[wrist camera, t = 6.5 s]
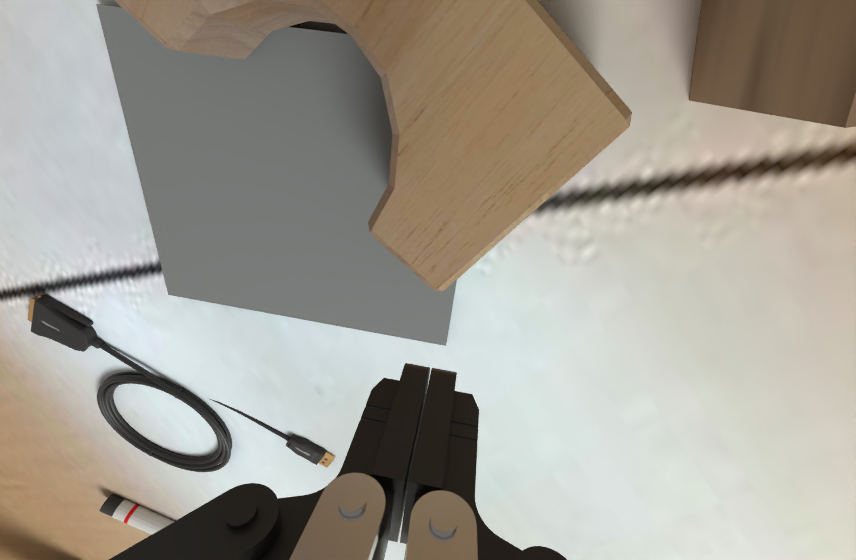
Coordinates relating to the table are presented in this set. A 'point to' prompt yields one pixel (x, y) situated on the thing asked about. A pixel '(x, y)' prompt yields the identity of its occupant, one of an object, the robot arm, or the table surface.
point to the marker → (134, 514)
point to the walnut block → (778, 58)
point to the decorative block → (441, 108)
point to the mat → (270, 178)
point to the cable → (80, 335)
